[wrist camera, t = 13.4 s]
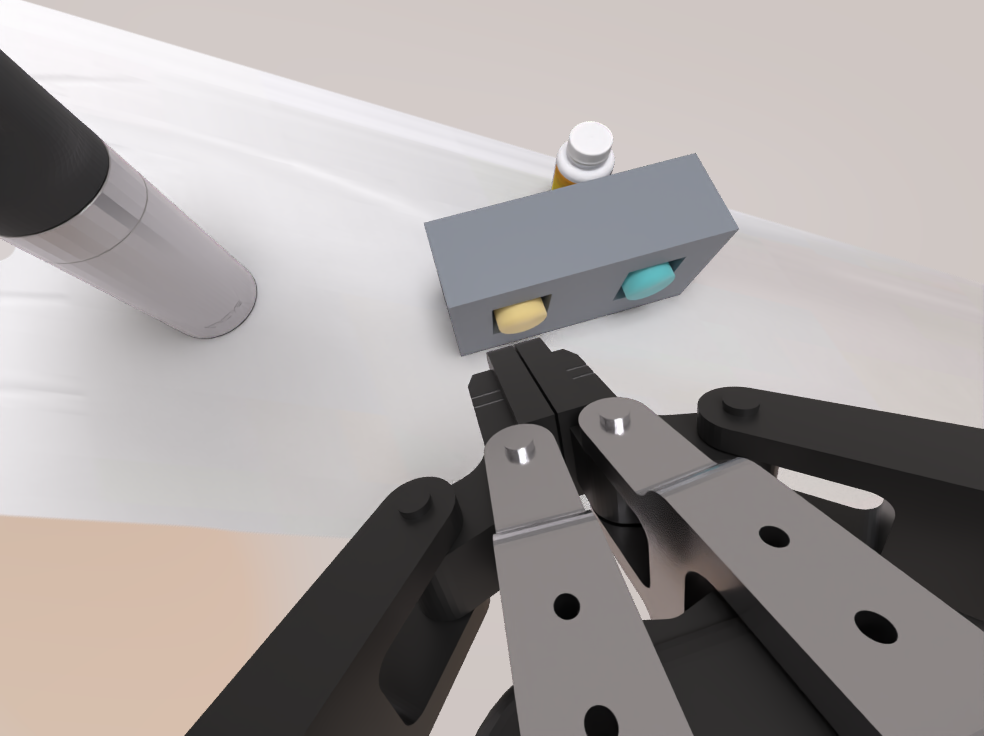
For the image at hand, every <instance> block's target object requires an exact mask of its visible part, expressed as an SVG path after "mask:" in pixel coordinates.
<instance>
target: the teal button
mask: <svg viewBox="0 0 984 736" xmlns="http://www.w3.org/2000/svg"><path fill="white" fill-rule="evenodd" d="M674 278H675V274H674V272H673V270H672V268H671V266H670V264H669V262H665V263H662V264H658V265H655V266H651V267H647V268H644V269H640V270H636V271H633V272H629V274H628V275H627V277H626V279H625V280H624V282H623V284H622V285H621V286H622V289H623V291H624V293H625V296H626V298H627V299H628V300H638V299H642V298H645V297H648V296H651V295H653V294H655V293H657V292H659V291H661V290H662V289H664V288H665V287H667V286H668V285H669V284H670V283H671V282H672V281H673V280H674Z"/></svg>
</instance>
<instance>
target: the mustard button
mask: <svg viewBox="0 0 984 736" xmlns="http://www.w3.org/2000/svg"><path fill="white" fill-rule="evenodd" d="M493 312H494V315H495V318H496V321H497V325H498V328H499V330H500V332H501V333H504V334H515V333H520V332H523V331H526V330H529V329H531V328H533V327H535V326H537V325H539V324H540V323H541V322H543V321H544V320H545V318H546V316H547V312H546V310H545V307H544V304H543V302H542V299H541V297H539V298H535V299H532V300H528V301H524V302H521V303H517V304H513V305H510V306H506V307H503V308H499V309H495V310H493Z"/></svg>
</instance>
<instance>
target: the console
mask: <svg viewBox="0 0 984 736" xmlns="http://www.w3.org/2000/svg"><path fill="white" fill-rule="evenodd" d="M424 226H425V229H426V233H427V237H428V240H429V244H430V248H431V251H432V255H433V258H434V262H435V266H436V269H437V273H438V276H439V280H440V284H441V287H442V291H443V294H444V298H445V301H446V305H447V308H448V312H449V315H450V319H451V322H452V326H453V329H454V332H455V336H456V339H457V343H458V346H459V350H460V353H461V356H464V355H468V354H471V353H475V352H478V351H482V350H485V349H489V348H492V347H496V346H500V345H503V344H507V343H510V342H514V341H517V340H521V339H524V338H528V337H531V336H535V335H538V334H542V333H545V332H549V331H553V330H556V329H560V328H563V327H567V326H570V325H574V324H577V323H581V322H584V321H588V320H591V319H595V318H598V317H602V316H605V315H609V314H613V313H616V312H620V311H623V310H627V309H630V308H634V307H637V306H641V305H644V304H648V303H651V302H655V301H658V300H662V299H666V298H669V297H673V296H676V295H680V294H681V293H682V291H683V290H684V289H685V288H686V287H687V286H688V285H689V284H690V283H691V282H692V280H693V279H694V278H695V277H696V276H697V275H698V274H699V273H700V272H701V270H702V269H703V268H704V267H705V266H706V265H707V264H708V263H709V262H710V260H711V259H712V258H713V257H714V256H715V255H716V254H717V253H718V252H719V251H720V249H721V248H722V247H723V246H724V245H725V244H726V243H727V242H728V241H729V239H730V238H731V237H732V236H733V235H734V234H735V233H736V232H737V231H738V229H739V228H738V226H737V224H736V223H735V221H734V219H733V217H732V216H731V214H730V212H729V210H728V209H727V207H726V205H725V203H724V202H723V200H722V198H721V196H720V195H719V193H718V191H717V189H716V188H715V186H714V184H713V182H712V181H711V179H710V177H709V175H708V174H707V172H706V170H705V168H704V167H703V165H702V163H701V161H700V160H699V158H698V156H697V154H696V153H695V154H690V155H687V156H683V157H679V158H675V159H671V160H667V161H663V162H659V163H655V164H652V165H647V166H643V167H640V168H636V169H632V170H628V171H624V172H620V173H616V174H612V175H608V176H605V177H601V178H597V179H593V180H589V181H585V182H581V183H577V184H573V185H570V186H566V187H562V188H558V189H554V190H550V191H546V192H542V193H538V194H535V195H531V196H527V197H523V198H519V199H515V200H511V201H507V202H503V203H500V204H496V205H492V206H488V207H484V208H480V209H476V210H472V211H468V212H464V213H461V214H457V215H453V216H449V217H445V218H441V219H437V220H433V221H429V222H426V223H424ZM665 262H669V264H670V266H671V268H672V270H673V272H674V274H675V278H674V280H673V281H672V282H671V283H670V284H669V285H668V286H667V287H665V288H664V289H662V290H661V291H659V292H657V293H655V294H653V295H651V296H648V297H645V298H642V299H638V300H628V299H627V298H626V296H625V293H624V291H623V289H622V286H621V285H622V284H623V282H624V280H625V279H626V277H627V275H628V274H629V272H633V271H636V270H640V269H644V268H647V267H651V266H655V265H658V264H662V263H665ZM539 297H541V299H542V302H543V304H544V307H545V310H546V312H547V316H546V318H545V320H544V321H543V322H541V323H540V324H539V325H537V326H535V327H533V328H531V329H529V330H526V331H523V332H520V333H515V334H504V333H501V332H500V330H499V328H498V325H497V321H496V318H495V315H494V312H493V310H495V309H499V308H503V307H506V306H510V305H513V304H517V303H521V302H524V301H528V300H532V299H535V298H539Z"/></svg>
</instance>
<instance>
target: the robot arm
mask: <svg viewBox="0 0 984 736" xmlns="http://www.w3.org/2000/svg"><path fill="white" fill-rule="evenodd" d="M0 239H2V240H4V241H6V242H8V243H10V244H12V245H14V246H16V247H18V248H19V249H21V250H23V251H25V252H27V253H29V254H31V255H33V256H35V257H37V258H39V259H41V260H43V261H45V262H47V263H49V264H51V265H53V266H55V267H57V268H59V269H61V270H63V271H65V272H67V273H68V274H70V275H72V276H74V277H76V278H78V279H80V280H82V281H84V282H86V283H88V284H90V285H92V286H94V287H96V288H97V289H99V290H101V291H103V292H105V293H107V294H109V295H111V296H113V297H115V298H117V299H119V300H121V301H123V302H125V303H127V304H128V305H130V306H132V307H134V308H136V309H138V310H140V311H142V312H144V313H146V314H148V315H150V316H152V317H154V318H155V319H157V320H159V321H161V322H163V323H165V324H167V325H169V326H171V327H173V328H175V329H177V330H179V331H181V332H183V333H184V334H187V335H189V336H192V337H197V338H212V337H216V336H220V335H223V334H225V333H227V332H229V331H231V330H233V329H234V328H235V327H237V326H238V325H239V324H240V323H242V322H243V321H244V320H245V319H246V317H247V316H248V314H249V313H250V312H251V310H252V307H253V305H254V303H255V299H256V284H255V281H254V278H253V277H252V275H251V273H250V272H249V271H248V270H247V269H246V268H245V267H244V266H242V265H241V264H240V263H239V262H238V261H237V260H236V259H235V258H234V257H232V256H231V255H230V254H229V253H228V252H227V251H226V250H225V249H224V248H223V247H221V246H220V245H219V244H218V243H217V242H216V241H215V240H214V239H213V238H211V237H210V236H209V235H208V234H207V233H206V232H205V231H204V230H202V229H201V228H200V227H199V226H198V225H197V224H196V223H195V222H194V221H192V220H191V219H190V218H189V217H188V216H187V215H186V214H185V213H184V212H182V211H181V210H180V209H179V208H178V207H177V206H176V205H175V204H173V203H172V202H171V201H170V200H169V199H168V198H167V197H166V196H165V195H163V194H162V193H161V192H160V191H159V190H158V189H157V188H156V187H154V186H153V185H152V184H151V183H150V182H149V181H148V180H147V179H146V178H144V177H143V176H142V175H141V174H140V173H139V172H138V171H136V170H135V169H134V168H133V167H132V166H131V165H130V164H128V163H127V162H126V161H125V160H124V159H123V158H122V157H121V156H120V155H118V154H117V153H116V152H115V151H114V150H113V149H112V148H111V147H109V146H108V145H107V144H106V143H105V142H104V141H103V140H102V139H100V138H99V137H98V136H97V135H96V134H95V133H94V132H93V131H92V130H91V129H89V128H88V127H87V126H86V125H85V124H84V123H82V122H81V121H80V120H79V119H78V118H77V117H76V116H74V115H73V114H72V113H71V112H70V111H69V110H68V109H66V108H65V107H64V106H63V105H62V104H61V103H60V102H59V101H57V100H56V99H55V98H54V97H53V96H52V95H51V94H50V93H48V92H47V91H46V90H45V89H44V88H43V87H42V86H40V85H39V84H38V83H37V82H36V81H35V80H34V79H33V78H31V77H30V76H29V75H28V74H27V73H26V72H25V71H24V70H23V69H21V68H20V67H19V66H18V65H17V64H16V63H15V62H14V61H13V60H12V59H10V58H9V57H8V56H7V55H6V54H5V53H4V52H3V51H2V50H0ZM486 355H487V360H488V364H489V368H490V370H488V371H485V372H481V373H478V374H474V375H473V376H472V378H471V380H470V383H469V385H468V389H469V392H470V396H471V399H472V403H473V406H474V410H475V413H476V417H477V420H478V424H479V427H480V431H481V434H482V438H483V441H484V444H485V449H484V456H483V459H482V461H481V462H480V464H479V465H478V466H477V467H476V468H475V469H474V471H472V472H471V473H470V474H469V475H467V476H466V477H464V478H463V479H461V480H459V481H458V482H456V483H454V484H453V485H450V484H449V483H448V482H447V481H445V480H443V479H441V478H437V477H422V478H418V479H414V480H411V481H409V482H407V483H405V484H403V485H401V486H400V487H398V488H396V489H395V490H394V491H393V492H392V493H390V494H389V496H388V497H387V498H386V499H385V500H384V501H383V502H382V503H381V505H380V506H379V507H378V508H377V509H376V511H375V512H374V513H373V514H372V515H371V516H370V518H369V519H368V520H367V521H366V522H365V523H364V525H363V526H362V527H361V528H360V529H359V531H358V532H357V533H356V534H355V535H354V536H353V538H352V539H351V540H350V541H349V543H348V544H347V545H346V546H345V547H344V549H342V551H341V552H340V553H339V554H338V555H337V557H336V558H335V559H334V560H333V561H332V562H331V564H330V565H329V566H328V567H327V568H326V569H325V571H324V572H323V573H322V574H321V576H320V577H319V578H318V579H317V580H316V581H315V582H314V584H313V585H312V586H311V587H310V588H309V590H308V591H307V592H306V593H305V594H304V595H303V597H302V598H301V599H300V600H299V601H298V603H297V604H296V605H295V606H294V607H293V608H292V610H291V611H290V612H289V613H288V614H287V615H286V617H285V618H284V619H283V620H282V621H281V623H280V624H279V625H278V626H277V627H276V629H275V630H274V631H273V632H272V633H271V634H270V635H269V637H268V638H267V639H266V640H265V641H264V643H263V644H262V645H261V646H260V647H259V649H258V650H257V651H256V652H255V653H254V654H253V656H252V657H251V658H250V659H249V660H248V661H247V663H246V664H245V665H244V666H243V667H242V668H241V670H240V671H239V672H238V673H237V674H236V676H235V677H234V678H233V679H232V680H231V681H230V683H229V684H228V685H227V686H226V687H225V689H224V690H223V691H222V692H221V693H220V694H219V696H218V697H217V698H216V699H215V700H214V702H213V703H212V704H211V705H210V706H209V707H208V709H207V710H206V711H205V712H204V713H203V715H202V716H201V717H200V718H199V719H198V720H197V722H196V723H195V724H194V725H193V726H192V727H191V729H190V730H189V731H188V732H187V733H186V734H185V736H429V734H430V732H431V730H432V728H433V726H434V723H435V721H436V719H437V717H438V715H439V712H440V711H441V709H442V706H443V704H444V702H445V700H446V698H447V696H448V694H449V692H450V689H451V687H452V685H453V683H454V681H455V679H456V677H457V675H458V672H459V670H460V668H461V666H462V664H463V662H464V660H465V658H466V655H467V653H468V651H469V649H470V646H471V645H472V643H473V640H474V638H475V636H476V634H477V632H478V630H479V628H480V626H481V623H482V621H483V619H484V617H485V615H486V613H487V610H488V608H489V603H490V597H491V596H492V595H494V594H495V593H496V592H498V591H499V590H500V595H501V602H502V608H503V615H504V623H505V630H506V636H507V643H508V650H509V656H510V657H509V658H510V665H511V671H512V679H513V686H511V687H510V688H509V689H508V690H507V691H506V692H505V693H504V695H503V696H502V697H501V698H500V699H499V701H498V702H497V703H496V704H495V706H494V707H493V708H492V709H491V711H490V712H489V714H488V715H487V717H486V718H485V720H484V722H483V723H482V725H481V726H480V728H479V729H478V731H477V734H476V735H475V736H984V429H980V428H974V427H969V426H963V425H957V424H952V423H946V422H940V421H935V420H929V419H923V418H918V417H912V416H906V415H901V414H895V413H889V412H883V411H878V410H872V409H866V408H861V407H855V406H849V405H844V404H838V403H832V402H827V401H821V400H815V399H810V398H804V397H798V396H792V395H787V394H781V393H775V392H770V391H764V390H758V389H753V388H746V387H723V388H718V389H714V390H711V391H709V392H707V393H705V394H704V395H703V396H702V397H701V398H700V399H699V401H698V408H697V413H690V414H677V415H656V414H655V413H654V412H653V411H652V410H650V409H649V408H648V407H647V406H645V405H644V404H643V403H641V402H639V401H636V400H633V399H629V398H622V397H617V396H616V395H615V394H614V393H613V392H612V391H611V390H610V389H609V388H608V387H607V386H606V384H605V383H604V382H603V381H602V380H601V379H600V378H599V377H598V376H597V375H596V374H595V373H593V371H592V370H591V368H590V367H589V366H587V365H586V363H585V362H584V361H583V360H582V359H581V358H580V357H579V356H578V355H577V354H575V353H572V352H570V351H567V350H564V349H561V350H558V351H554V352H551V351H550V349H549V348H548V347H547V346H546V344H545V343H544V342H543V341H542V340H541V338H536V339H532V340H529V341H525V342H522V343H518V344H515V345H513V346H512V345H511V346H508V347H504V348H501V349H497V350H494V351H490V352H487V353H486ZM779 467H782V468H785V469H789V470H793V471H796V472H800V473H804V474H807V475H811V476H814V477H818V478H822V479H825V480H829V481H833V482H836V483H840V484H844V485H847V486H851V487H854V488H858V489H862V490H865V491H869V492H872V493H874V494H876V495H879V496H880V497H882V498H884V500H883V503H882V504H881V505H880V506H879V507H877V508H874V509H867V510H863V509H856V508H852V507H848V506H845V505H842V504H838V503H835V502H832V501H828V500H825V499H822V498H818V497H815V496H812V495H808V494H805V493H802V492H798V491H795V490H792V489H790V488H789V487H787V486H786V485H785V484H783V483H782V482H781V481H779V480H778V479H777V475H778V469H779ZM583 494H585V495H586V497H587V499H588V501H589V503H590V507H591V510H587V511H585V509H584V506H583V504H582V502H581V499H580V497H579V496H580V495H583ZM612 553H613V554H612ZM613 555H614V556H615V558H616V559H617V561H618V562H619V564H620V565H621V567H622V568H623V570H624V572H625V573H626V575H627V576H628V578H629V579H630V581H631V583H632V584H633V586H634V587H635V589H636V590H637V592H638V593H639V595H640V597H641V598H642V600H643V602H644V604H645V606H646V608H647V610H648V612H649V615H650V618H651V620H642V619H641V617H640V614H639V612H638V610H637V608H636V605H635V603H634V601H633V599H632V596H631V594H630V592H629V590H628V587H627V585H626V583H625V581H624V578H623V576H622V574H621V572H620V569H619V567H618V565H617V563H616V560H615V558H614V556H613Z"/></svg>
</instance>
